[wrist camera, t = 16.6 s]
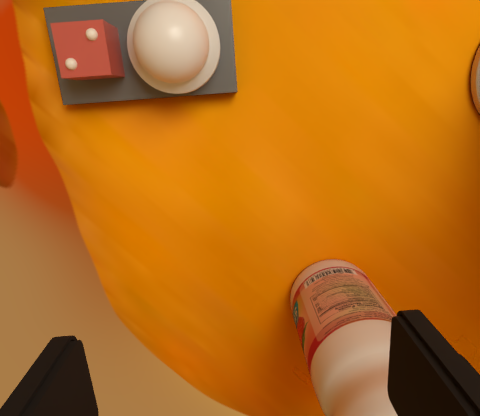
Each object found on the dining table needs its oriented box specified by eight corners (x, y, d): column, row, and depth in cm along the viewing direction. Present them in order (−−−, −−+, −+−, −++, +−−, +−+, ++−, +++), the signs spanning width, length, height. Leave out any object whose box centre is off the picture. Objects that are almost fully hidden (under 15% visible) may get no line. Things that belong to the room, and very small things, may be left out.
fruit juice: (386, 289, 43) (650, 618, 16) (328, 342, 44) (477, 714, 18) (329, 240, 41) (522, 522, 14) (271, 297, 42) (343, 642, 16)
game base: (230, -1, 33) (230, -6, 31) (236, 92, 36) (237, 91, 34) (54, 12, 33) (43, 7, 31) (72, 104, 36) (63, 104, 34)
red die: (117, 28, 32) (100, 18, 28) (125, 76, 33) (109, 74, 29) (71, 31, 32) (47, 22, 28) (80, 80, 33) (59, 78, 29)
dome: (216, -4, 31) (213, -27, 25) (223, 90, 33) (222, 89, 27) (126, 2, 31) (103, -18, 25) (140, 96, 33) (121, 97, 27)
